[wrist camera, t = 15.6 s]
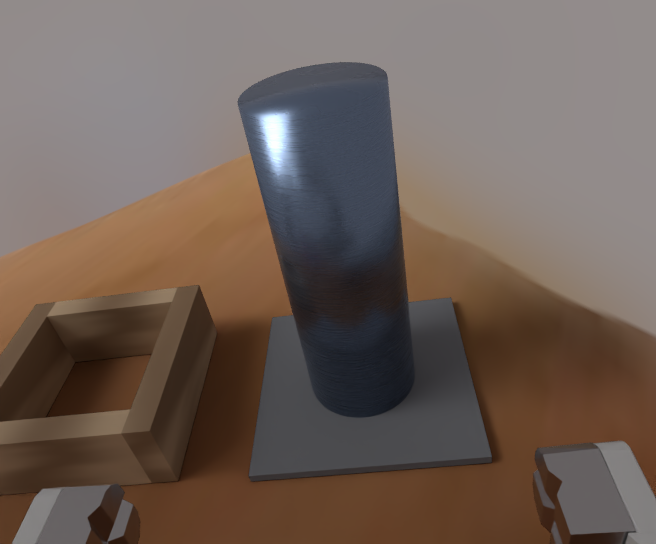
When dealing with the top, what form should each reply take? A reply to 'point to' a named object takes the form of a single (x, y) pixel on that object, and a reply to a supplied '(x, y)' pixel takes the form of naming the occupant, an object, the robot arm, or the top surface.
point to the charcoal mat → (376, 431)
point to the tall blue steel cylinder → (336, 227)
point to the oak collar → (114, 426)
